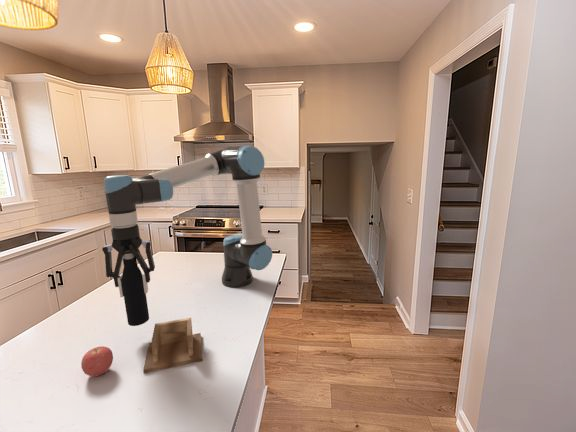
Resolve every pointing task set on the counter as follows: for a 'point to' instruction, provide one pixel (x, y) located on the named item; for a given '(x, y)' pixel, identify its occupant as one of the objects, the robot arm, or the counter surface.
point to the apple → (97, 361)
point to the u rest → (173, 346)
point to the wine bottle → (133, 289)
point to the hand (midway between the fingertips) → (134, 293)
